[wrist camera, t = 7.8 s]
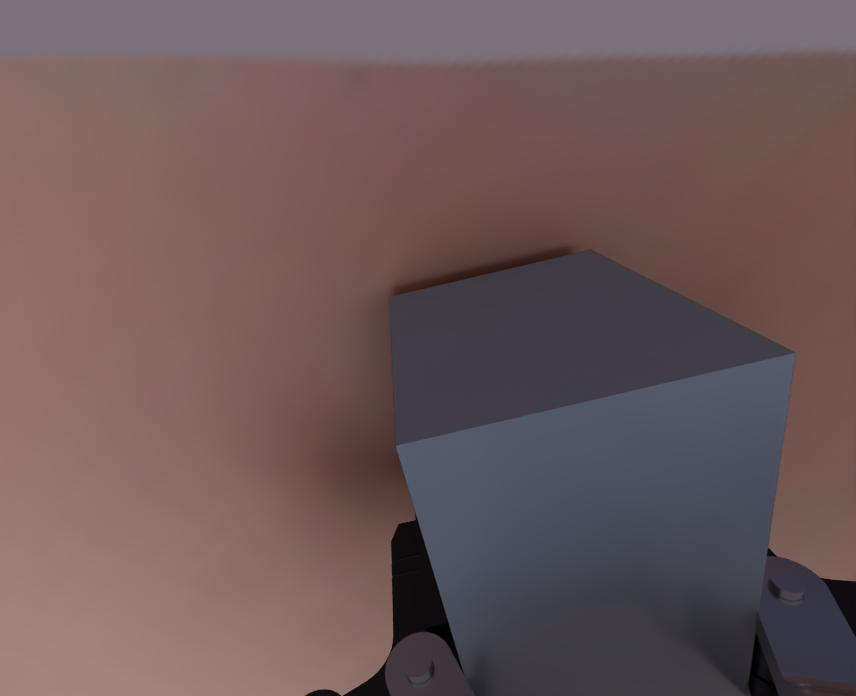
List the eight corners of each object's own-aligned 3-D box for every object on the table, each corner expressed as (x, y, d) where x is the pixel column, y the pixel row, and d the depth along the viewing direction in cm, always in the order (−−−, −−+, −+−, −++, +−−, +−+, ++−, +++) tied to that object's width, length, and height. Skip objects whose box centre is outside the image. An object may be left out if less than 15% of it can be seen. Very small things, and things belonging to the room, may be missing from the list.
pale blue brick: (590, 249, 11) (795, 352, 6) (611, 583, 16) (730, 810, 11) (389, 296, 11) (395, 446, 6) (472, 614, 16) (519, 858, 11)
